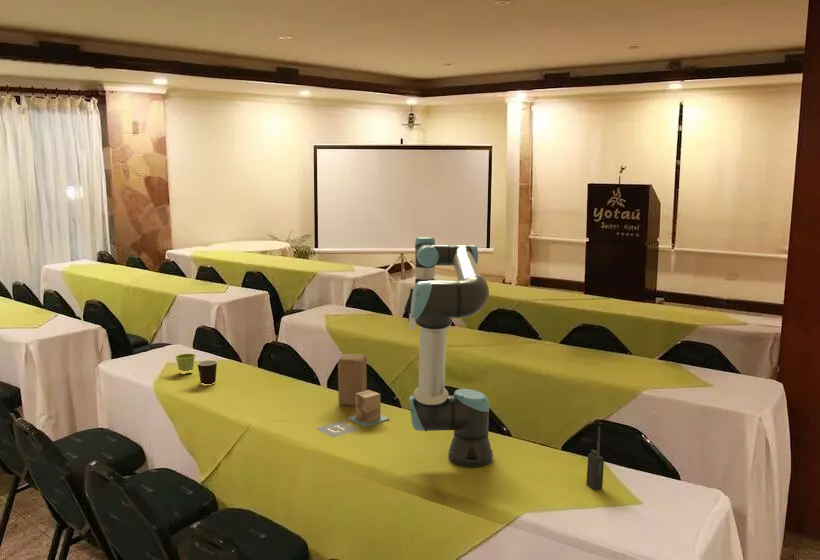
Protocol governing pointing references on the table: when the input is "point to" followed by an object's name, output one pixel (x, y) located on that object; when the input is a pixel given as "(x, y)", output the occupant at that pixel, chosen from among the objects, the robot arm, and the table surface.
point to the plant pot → (185, 361)
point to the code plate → (336, 429)
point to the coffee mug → (207, 371)
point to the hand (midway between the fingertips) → (424, 332)
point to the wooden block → (351, 377)
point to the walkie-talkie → (595, 467)
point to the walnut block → (367, 406)
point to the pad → (364, 424)
